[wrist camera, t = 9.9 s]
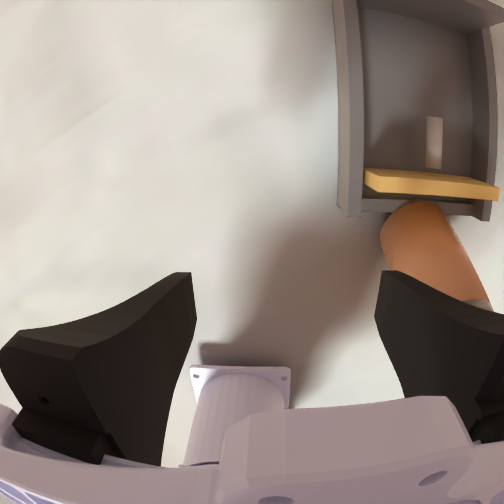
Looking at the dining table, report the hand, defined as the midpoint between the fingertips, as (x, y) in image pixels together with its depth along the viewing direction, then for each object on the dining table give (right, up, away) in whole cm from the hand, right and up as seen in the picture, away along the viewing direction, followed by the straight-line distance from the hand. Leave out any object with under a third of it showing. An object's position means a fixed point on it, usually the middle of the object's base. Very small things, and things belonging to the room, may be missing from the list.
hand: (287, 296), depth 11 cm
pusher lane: (+9, +11, +5) cm, 15 cm away
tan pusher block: (+9, +8, +5) cm, 13 cm away
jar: (+9, +3, +7) cm, 12 cm away
